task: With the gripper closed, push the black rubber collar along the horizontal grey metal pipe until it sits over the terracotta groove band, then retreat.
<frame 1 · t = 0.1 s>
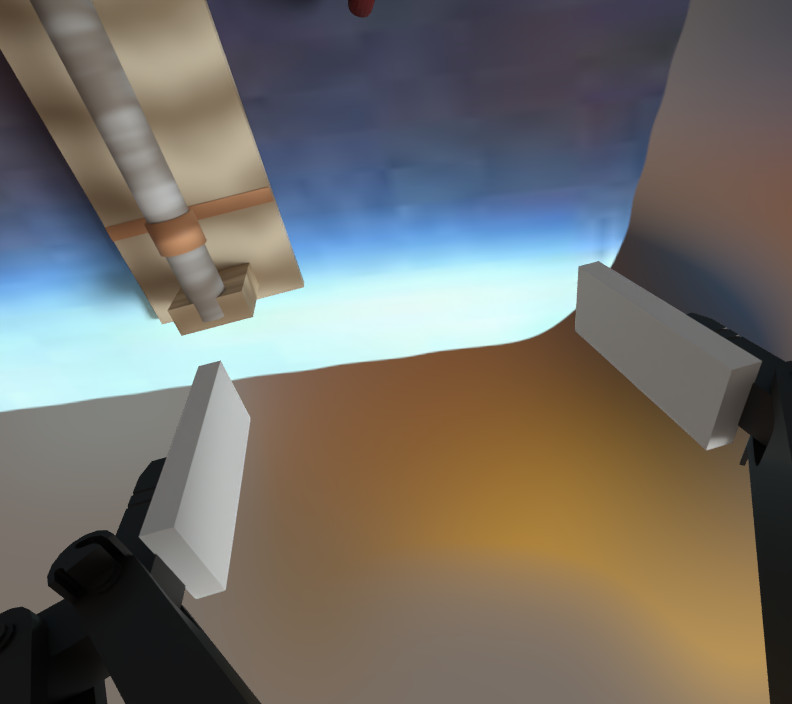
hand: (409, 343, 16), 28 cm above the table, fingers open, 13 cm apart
pipe rig: (146, 107, 33), on the table
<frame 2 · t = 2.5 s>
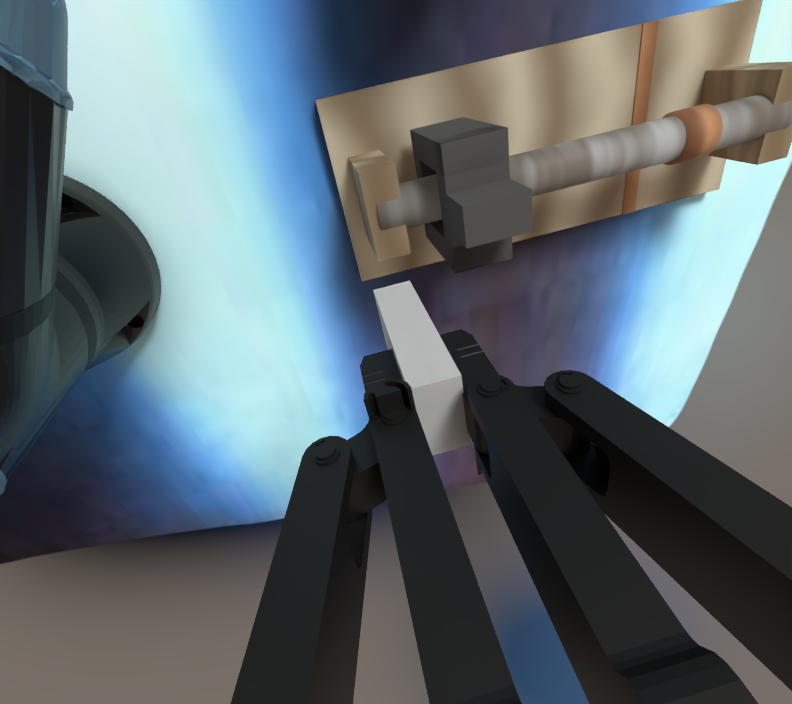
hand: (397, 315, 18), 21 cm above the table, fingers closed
collar: (466, 197, 29), point 8 cm above the table, slide at 0.0 cm
pipe rig: (538, 148, 36), on the table
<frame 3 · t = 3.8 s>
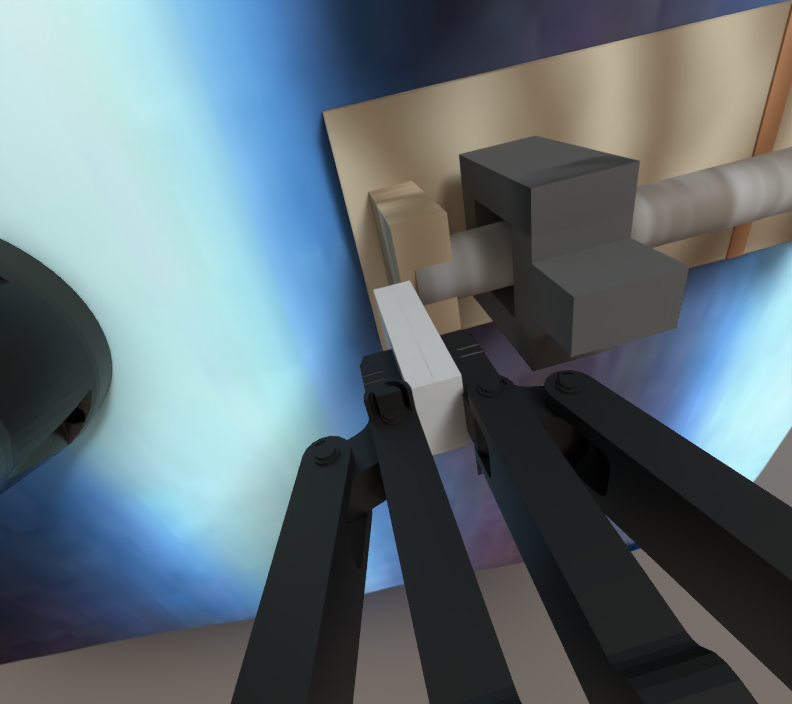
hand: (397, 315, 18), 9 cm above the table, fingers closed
collar: (549, 257, 19), point 8 cm above the table, slide at 0.0 cm
pipe rig: (625, 175, 26), on the table
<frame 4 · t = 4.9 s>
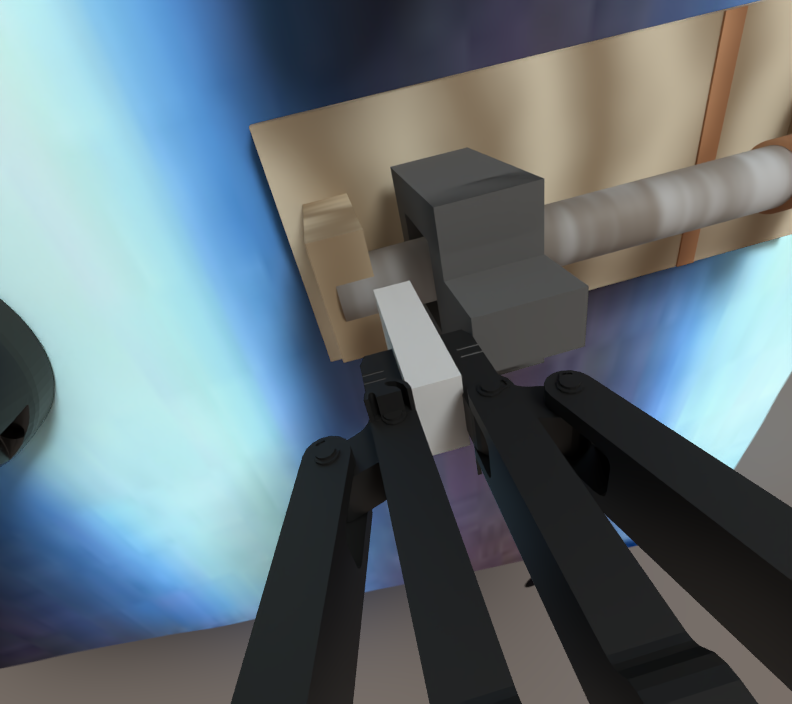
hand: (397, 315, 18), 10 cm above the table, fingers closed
collar: (474, 271, 19), point 8 cm above the table, slide at 0.1 cm, touching gripper
pipe rig: (568, 184, 26), on the table
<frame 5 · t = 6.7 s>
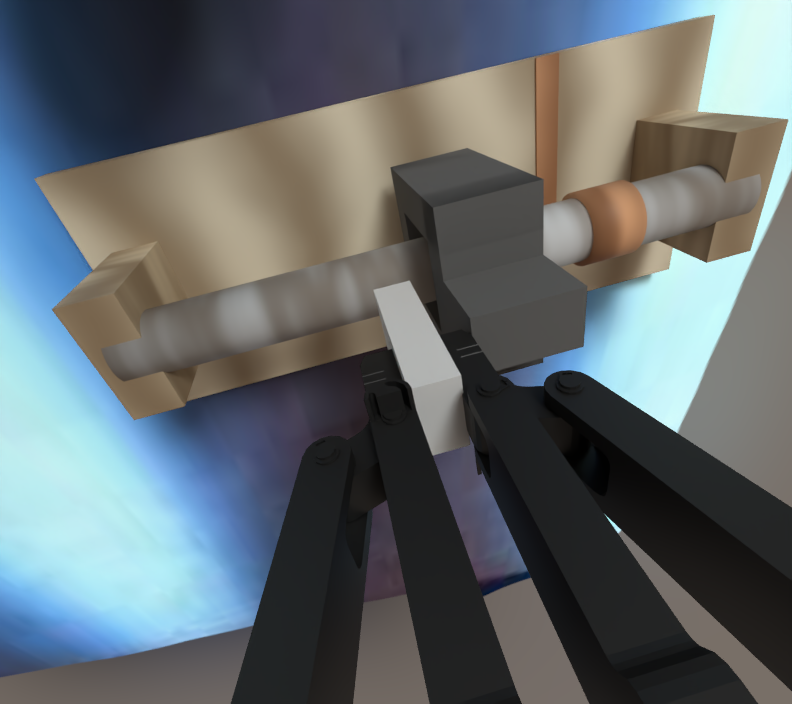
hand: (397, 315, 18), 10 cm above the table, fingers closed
collar: (473, 272, 19), point 8 cm above the table, slide at 10.2 cm, touching gripper
pipe rig: (409, 226, 26), on the table
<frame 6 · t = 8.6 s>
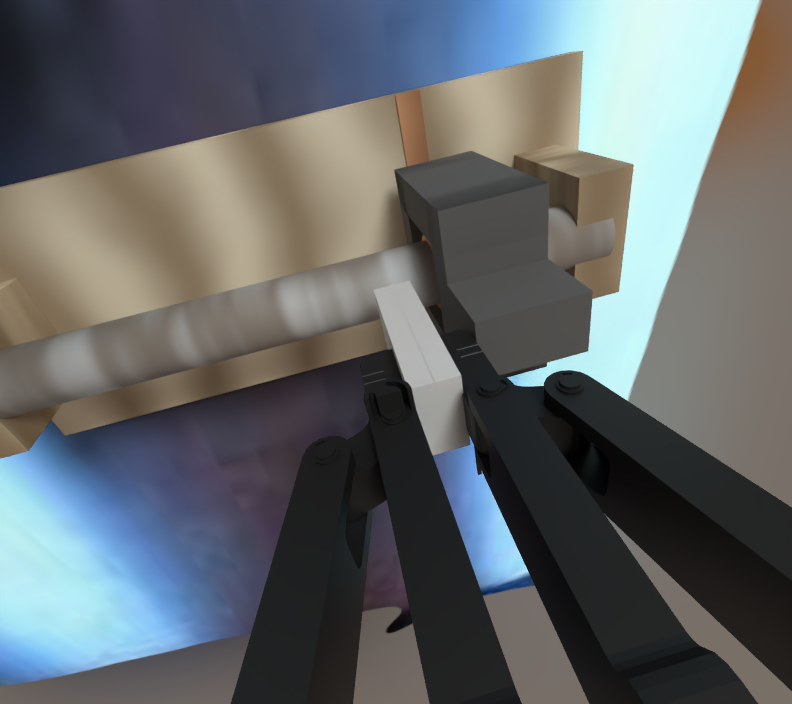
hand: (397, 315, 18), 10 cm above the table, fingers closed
collar: (477, 275, 19), point 8 cm above the table, slide at 17.5 cm, touching gripper
pipe rig: (292, 259, 25), on the table
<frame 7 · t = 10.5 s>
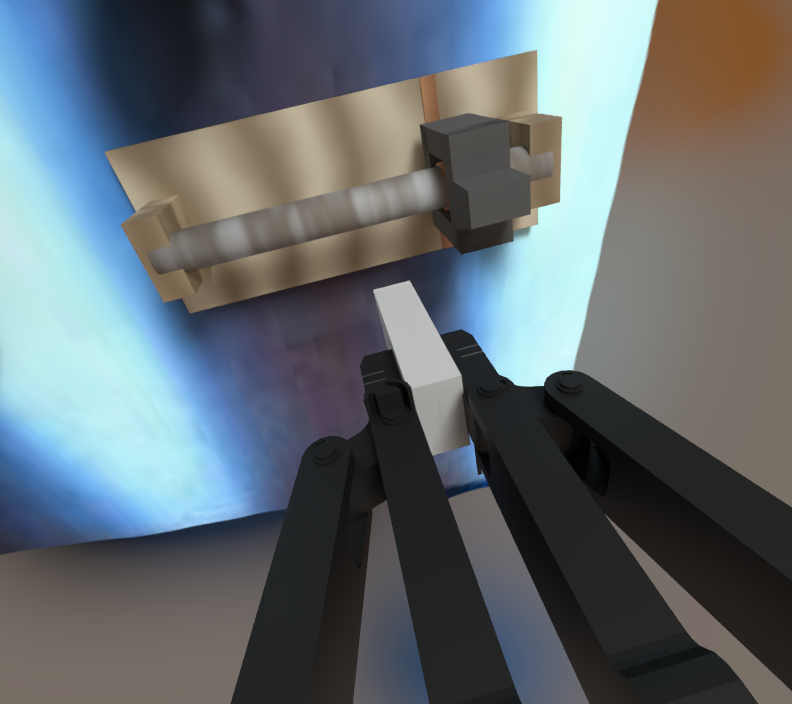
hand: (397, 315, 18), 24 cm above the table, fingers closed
collar: (471, 185, 31), point 8 cm above the table, slide at 17.6 cm
pipe rig: (347, 189, 38), on the table
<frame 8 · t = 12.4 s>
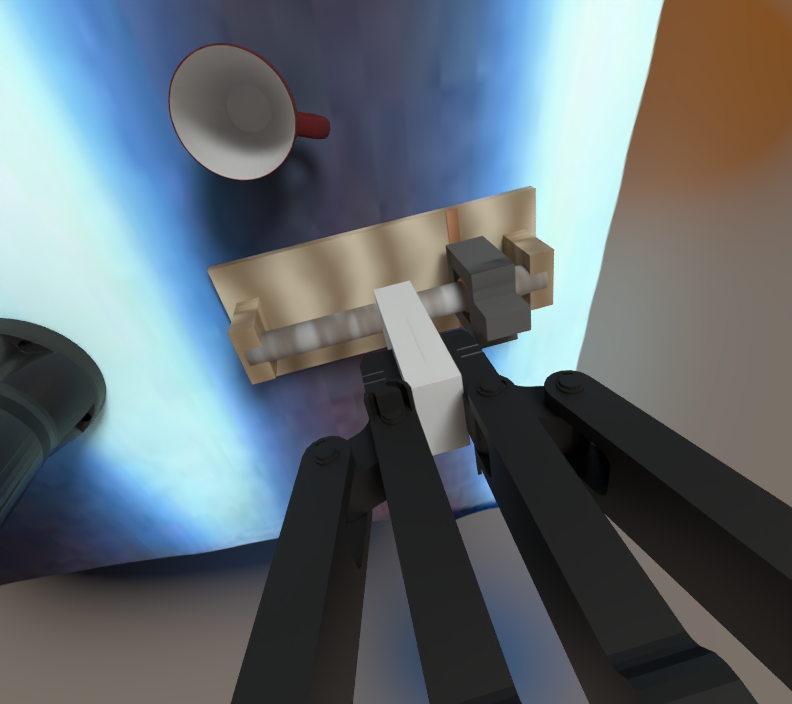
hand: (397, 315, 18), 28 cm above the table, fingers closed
collar: (486, 297, 42), point 8 cm above the table, slide at 17.6 cm
pipe rig: (386, 286, 48), on the table
mug: (264, 109, 37), on the table
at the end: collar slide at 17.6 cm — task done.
